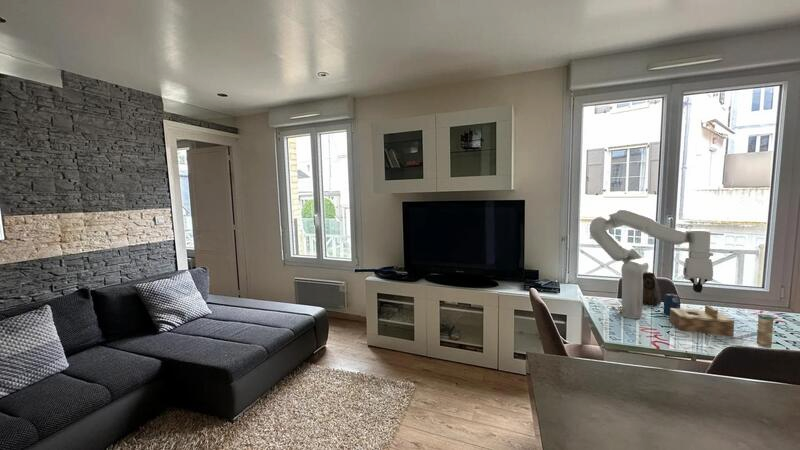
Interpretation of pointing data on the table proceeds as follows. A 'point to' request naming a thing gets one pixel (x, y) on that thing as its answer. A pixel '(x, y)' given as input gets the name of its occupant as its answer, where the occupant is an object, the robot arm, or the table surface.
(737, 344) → the table surface
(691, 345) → the table surface
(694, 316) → the lid
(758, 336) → the block
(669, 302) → the soda can
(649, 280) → the owl
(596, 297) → the table surface
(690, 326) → the wooden box with slot
